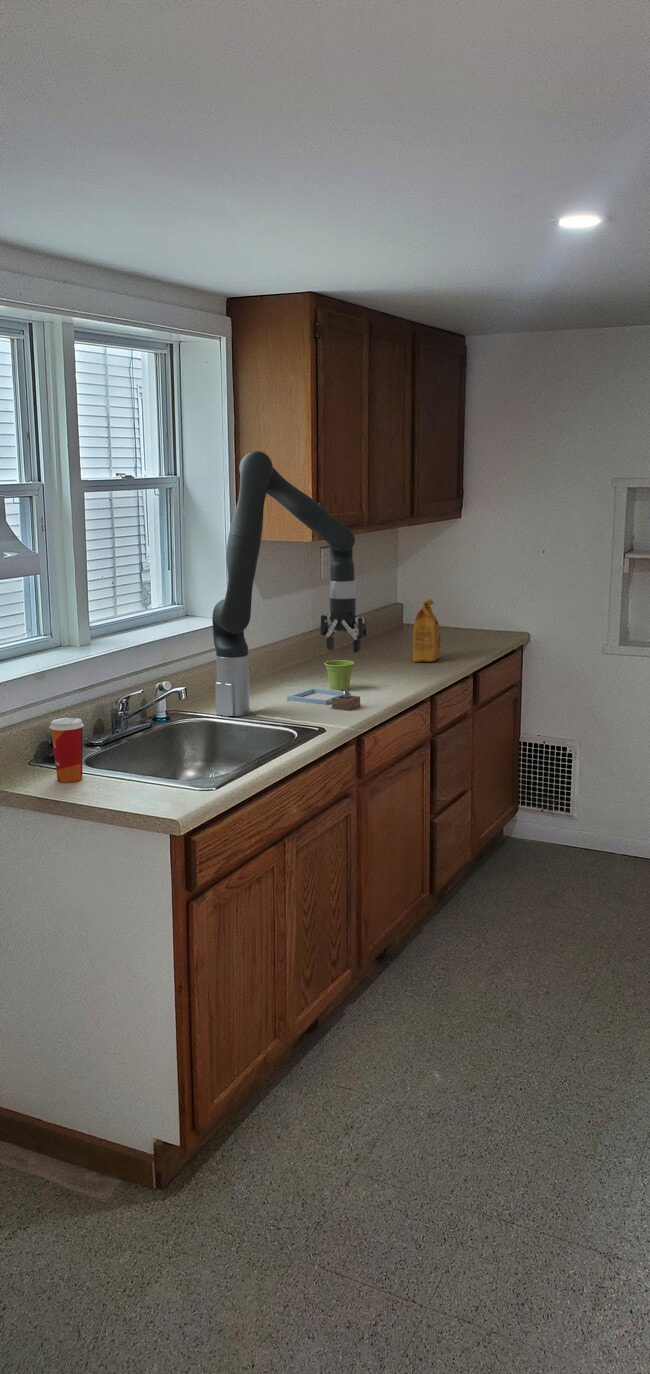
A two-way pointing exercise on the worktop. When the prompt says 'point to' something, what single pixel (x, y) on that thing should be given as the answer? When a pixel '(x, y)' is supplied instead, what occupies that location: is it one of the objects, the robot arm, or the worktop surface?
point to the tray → (299, 698)
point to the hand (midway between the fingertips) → (343, 651)
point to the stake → (346, 696)
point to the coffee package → (426, 635)
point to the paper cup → (67, 748)
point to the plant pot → (339, 674)
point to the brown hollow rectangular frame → (346, 702)
